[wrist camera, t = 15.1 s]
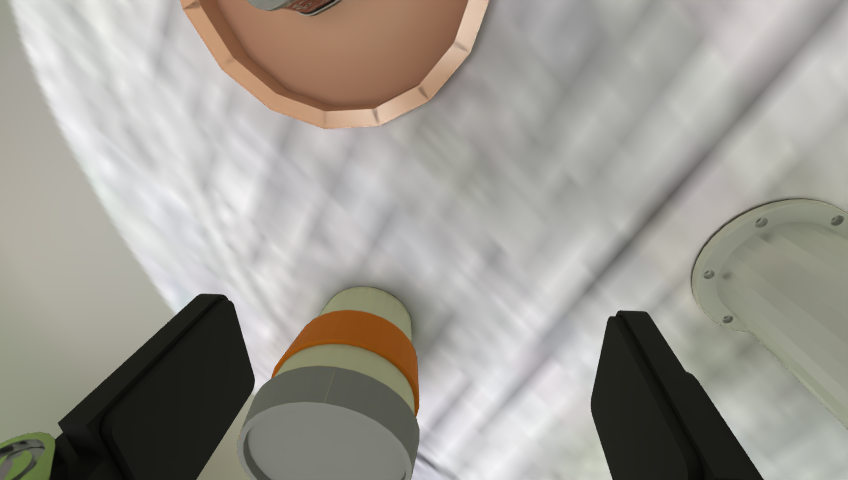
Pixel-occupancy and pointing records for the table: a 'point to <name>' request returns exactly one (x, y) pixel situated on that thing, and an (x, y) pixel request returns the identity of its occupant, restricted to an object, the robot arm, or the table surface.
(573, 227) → the table surface
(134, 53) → the table surface
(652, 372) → the robot arm
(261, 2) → the lighter
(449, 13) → the round bowl
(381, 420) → the reusable coffee cup
